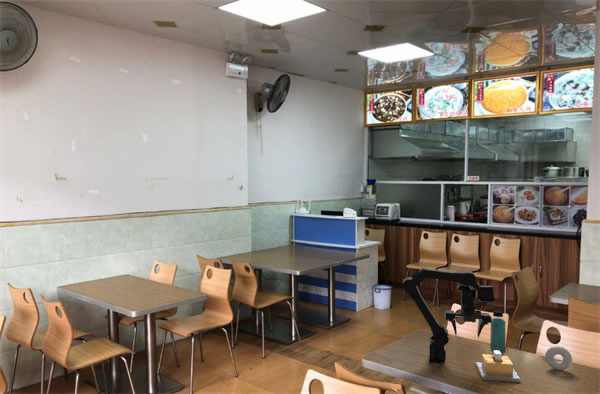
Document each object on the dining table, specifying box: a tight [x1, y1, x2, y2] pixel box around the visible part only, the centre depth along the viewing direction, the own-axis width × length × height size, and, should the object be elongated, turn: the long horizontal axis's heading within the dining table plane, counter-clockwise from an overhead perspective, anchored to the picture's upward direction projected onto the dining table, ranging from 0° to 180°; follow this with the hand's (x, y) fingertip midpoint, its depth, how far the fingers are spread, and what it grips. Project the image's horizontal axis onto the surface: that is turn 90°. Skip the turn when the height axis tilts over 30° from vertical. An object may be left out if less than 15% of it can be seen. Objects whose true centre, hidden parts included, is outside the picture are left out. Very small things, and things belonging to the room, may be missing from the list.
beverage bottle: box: [489, 310, 507, 355], centre depth 209 cm, size 6×7×20 cm
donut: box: [544, 345, 573, 371], centre depth 192 cm, size 10×3×10 cm, turn 66°
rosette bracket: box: [475, 353, 521, 383], centre depth 189 cm, size 14×15×6 cm
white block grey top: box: [492, 350, 503, 362], centre depth 188 cm, size 2×4×9 cm, turn 168°
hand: (466, 336), depth 199 cm, fingers open, 9 cm apart
